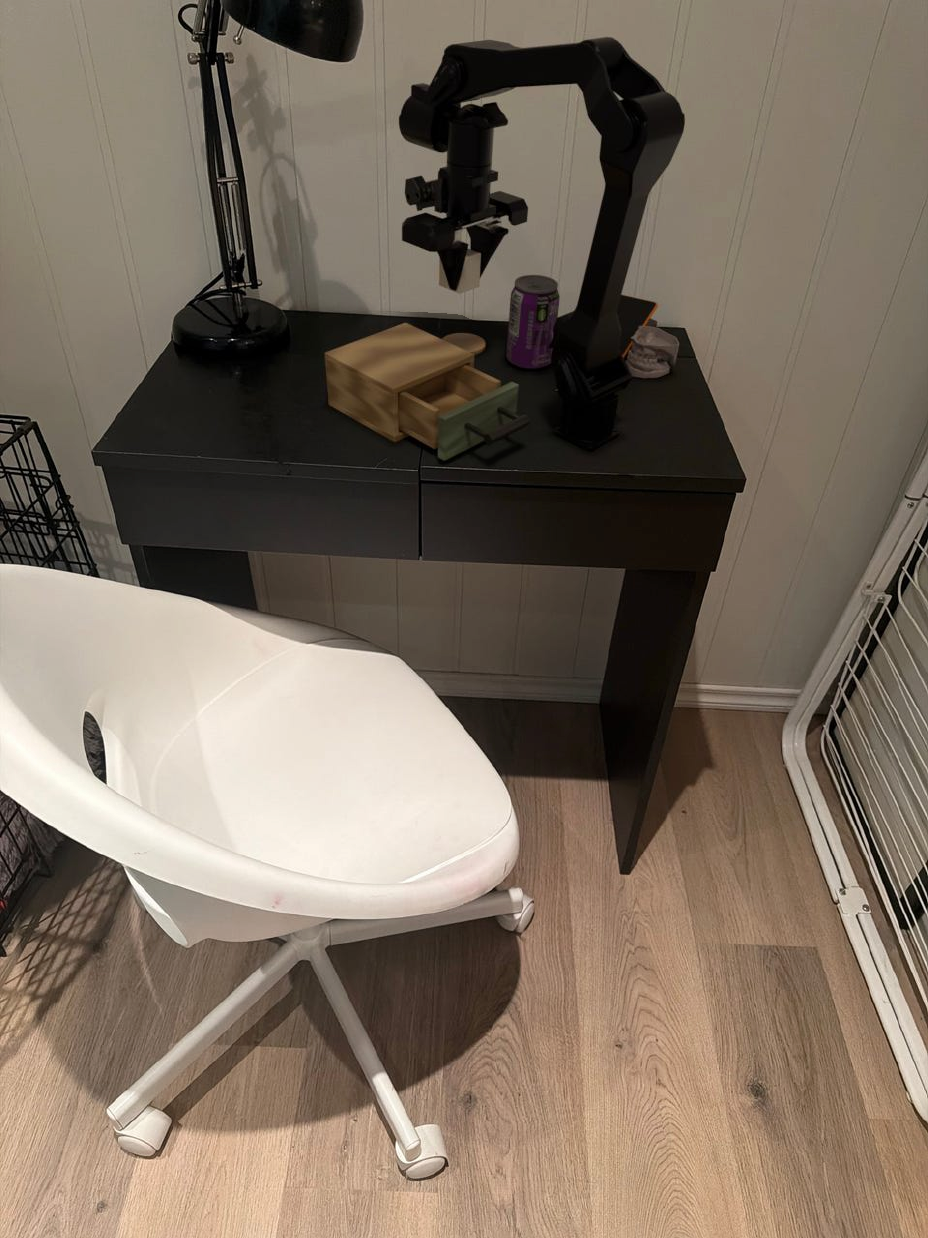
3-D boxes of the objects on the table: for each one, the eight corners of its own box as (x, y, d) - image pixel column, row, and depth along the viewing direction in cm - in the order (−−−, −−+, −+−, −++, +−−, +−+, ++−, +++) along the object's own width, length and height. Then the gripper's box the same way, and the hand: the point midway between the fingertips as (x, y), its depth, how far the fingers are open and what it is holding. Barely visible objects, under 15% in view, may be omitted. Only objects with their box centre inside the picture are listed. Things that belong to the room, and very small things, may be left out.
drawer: (543, 438, 110) (548, 398, 106) (472, 477, 103) (474, 435, 99) (449, 391, 119) (450, 352, 115) (377, 423, 111) (376, 383, 108)
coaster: (494, 346, 132) (494, 343, 131) (463, 360, 128) (463, 356, 128) (462, 332, 135) (462, 328, 135) (431, 345, 132) (431, 341, 131)
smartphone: (659, 305, 131) (659, 301, 130) (611, 379, 125) (611, 375, 124) (614, 295, 134) (614, 291, 133) (565, 367, 128) (565, 363, 127)
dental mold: (658, 353, 120) (652, 385, 124) (688, 340, 124) (682, 372, 127) (616, 335, 125) (611, 367, 128) (646, 323, 128) (641, 354, 131)
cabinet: (472, 405, 118) (474, 354, 113) (394, 442, 110) (393, 388, 105) (406, 372, 125) (405, 322, 119) (328, 404, 117) (324, 352, 111)
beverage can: (549, 375, 125) (558, 294, 117) (502, 369, 126) (507, 289, 118) (555, 354, 131) (563, 276, 122) (510, 349, 131) (515, 271, 123)
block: (479, 286, 117) (481, 253, 114) (459, 293, 115) (460, 260, 112) (458, 278, 119) (459, 245, 116) (438, 285, 117) (439, 251, 114)
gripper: (473, 135, 115) (468, 253, 126) (370, 159, 105) (374, 285, 115) (535, 153, 110) (524, 275, 120) (434, 180, 99) (432, 310, 110)
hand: (464, 285), depth 117 cm, fingers closed on block, 4 cm apart
